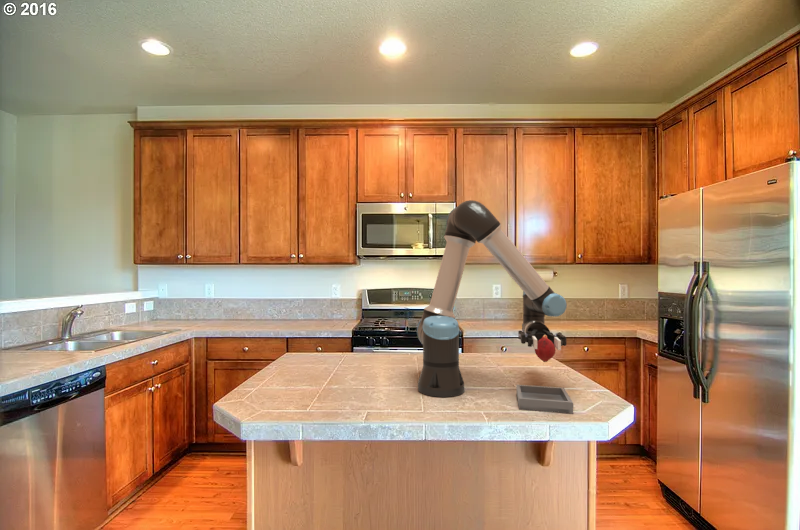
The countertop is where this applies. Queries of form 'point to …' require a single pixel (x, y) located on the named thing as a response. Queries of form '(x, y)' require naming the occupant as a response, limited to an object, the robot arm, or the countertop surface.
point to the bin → (544, 399)
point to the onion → (545, 349)
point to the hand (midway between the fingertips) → (547, 344)
